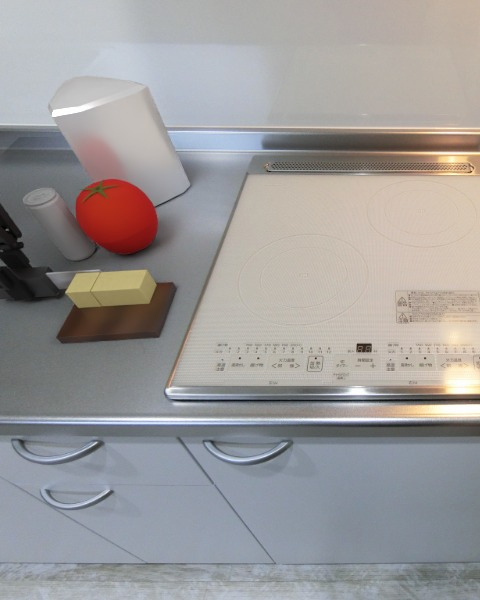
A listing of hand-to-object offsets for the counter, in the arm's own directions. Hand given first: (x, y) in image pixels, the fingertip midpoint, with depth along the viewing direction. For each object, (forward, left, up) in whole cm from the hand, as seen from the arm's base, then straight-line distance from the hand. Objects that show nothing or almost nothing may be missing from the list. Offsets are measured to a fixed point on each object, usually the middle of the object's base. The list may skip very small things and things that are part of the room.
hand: (30, 290), depth 69 cm
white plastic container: (+8, +26, -2) cm, 27 cm away
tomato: (+12, +11, -2) cm, 17 cm away
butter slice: (+11, -2, 0) cm, 11 cm away
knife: (+4, 0, 0) cm, 5 cm away
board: (+15, -5, -2) cm, 16 cm away
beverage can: (+3, +10, -2) cm, 11 cm away
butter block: (+16, -2, 0) cm, 16 cm away
